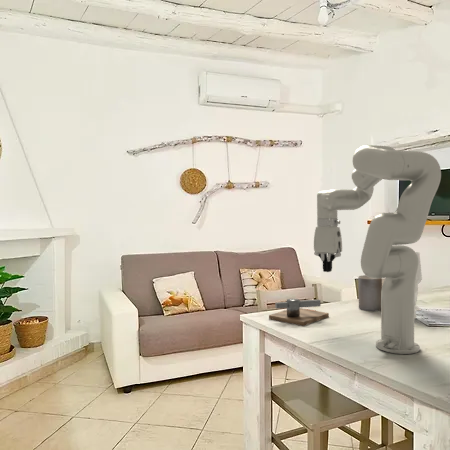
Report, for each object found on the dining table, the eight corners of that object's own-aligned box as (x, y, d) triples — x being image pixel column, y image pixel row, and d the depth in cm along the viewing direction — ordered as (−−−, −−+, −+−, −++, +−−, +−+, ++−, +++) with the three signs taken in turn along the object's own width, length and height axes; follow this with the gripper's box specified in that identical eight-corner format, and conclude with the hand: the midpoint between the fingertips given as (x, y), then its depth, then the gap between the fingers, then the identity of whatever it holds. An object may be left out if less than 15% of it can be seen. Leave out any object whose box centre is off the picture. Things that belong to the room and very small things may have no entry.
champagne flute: (401, 307, 191) (401, 252, 190) (413, 306, 193) (413, 251, 192) (412, 311, 184) (412, 253, 184) (425, 309, 187) (425, 252, 186)
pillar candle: (374, 305, 196) (373, 271, 196) (387, 310, 187) (386, 274, 186) (354, 307, 194) (353, 273, 193) (366, 312, 184) (365, 276, 184)
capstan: (278, 317, 169) (277, 302, 169) (273, 314, 174) (273, 299, 174) (322, 314, 173) (322, 299, 172) (317, 312, 178) (317, 297, 177)
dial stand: (303, 325, 164) (303, 321, 164) (269, 318, 175) (268, 314, 175) (329, 316, 177) (329, 312, 177) (295, 310, 188) (295, 307, 188)
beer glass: (419, 320, 170) (419, 281, 170) (400, 319, 172) (400, 280, 171) (415, 315, 177) (415, 278, 176) (397, 315, 178) (397, 277, 178)
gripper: (350, 223, 167) (350, 272, 167) (315, 222, 177) (315, 268, 178) (340, 224, 161) (340, 274, 162) (304, 223, 172) (305, 270, 172)
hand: (327, 271), depth 170 cm, fingers closed
